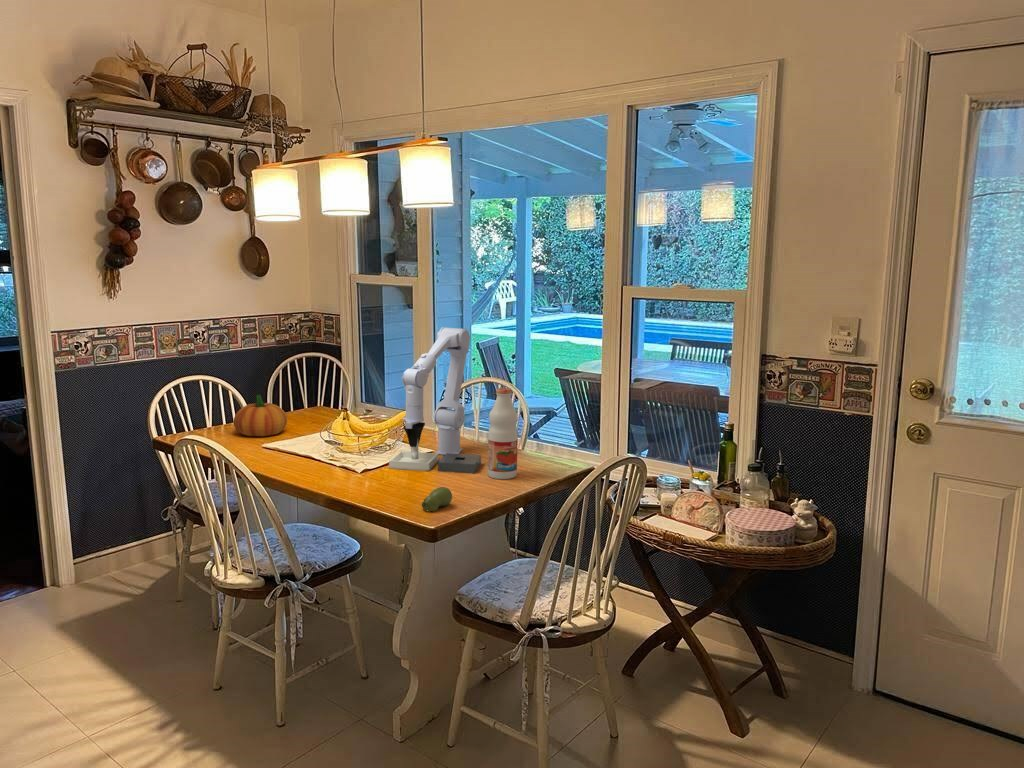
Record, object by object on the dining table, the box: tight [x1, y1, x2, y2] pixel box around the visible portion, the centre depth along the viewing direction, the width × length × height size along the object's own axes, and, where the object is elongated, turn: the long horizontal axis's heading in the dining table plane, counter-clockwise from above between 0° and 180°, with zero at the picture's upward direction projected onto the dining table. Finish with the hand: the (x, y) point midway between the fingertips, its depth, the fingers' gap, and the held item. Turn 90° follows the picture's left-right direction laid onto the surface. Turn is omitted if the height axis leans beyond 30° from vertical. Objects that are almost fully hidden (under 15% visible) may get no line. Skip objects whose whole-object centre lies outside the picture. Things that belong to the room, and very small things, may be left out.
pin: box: [410, 442, 420, 460], centre depth 258 cm, size 2×2×8 cm
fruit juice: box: [486, 387, 519, 480], centre depth 246 cm, size 9×9×28 cm
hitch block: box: [437, 453, 482, 474], centre depth 256 cm, size 12×12×3 cm
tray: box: [388, 450, 439, 472], centre depth 258 cm, size 13×13×3 cm
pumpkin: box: [233, 394, 288, 438], centre depth 297 cm, size 19×19×15 cm
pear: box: [421, 486, 453, 512], centre depth 215 cm, size 6×5×10 cm
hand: (414, 445), depth 258 cm, fingers closed on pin, 2 cm apart
